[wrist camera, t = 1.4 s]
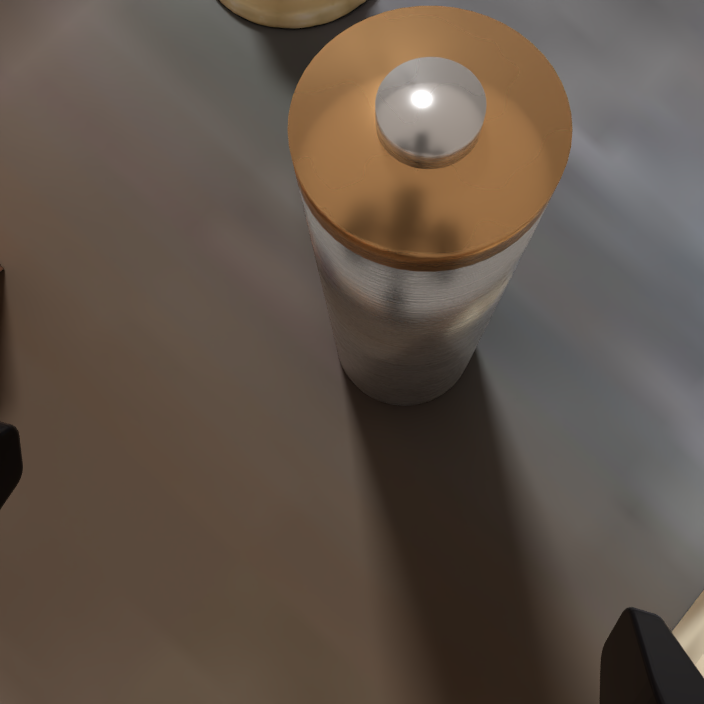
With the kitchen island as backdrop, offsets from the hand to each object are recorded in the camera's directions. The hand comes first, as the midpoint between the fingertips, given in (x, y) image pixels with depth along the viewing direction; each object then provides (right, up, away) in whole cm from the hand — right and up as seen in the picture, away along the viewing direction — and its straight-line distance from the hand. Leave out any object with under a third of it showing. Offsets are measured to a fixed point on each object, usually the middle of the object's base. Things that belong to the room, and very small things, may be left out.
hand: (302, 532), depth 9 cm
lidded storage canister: (+3, +3, +14) cm, 15 cm away
